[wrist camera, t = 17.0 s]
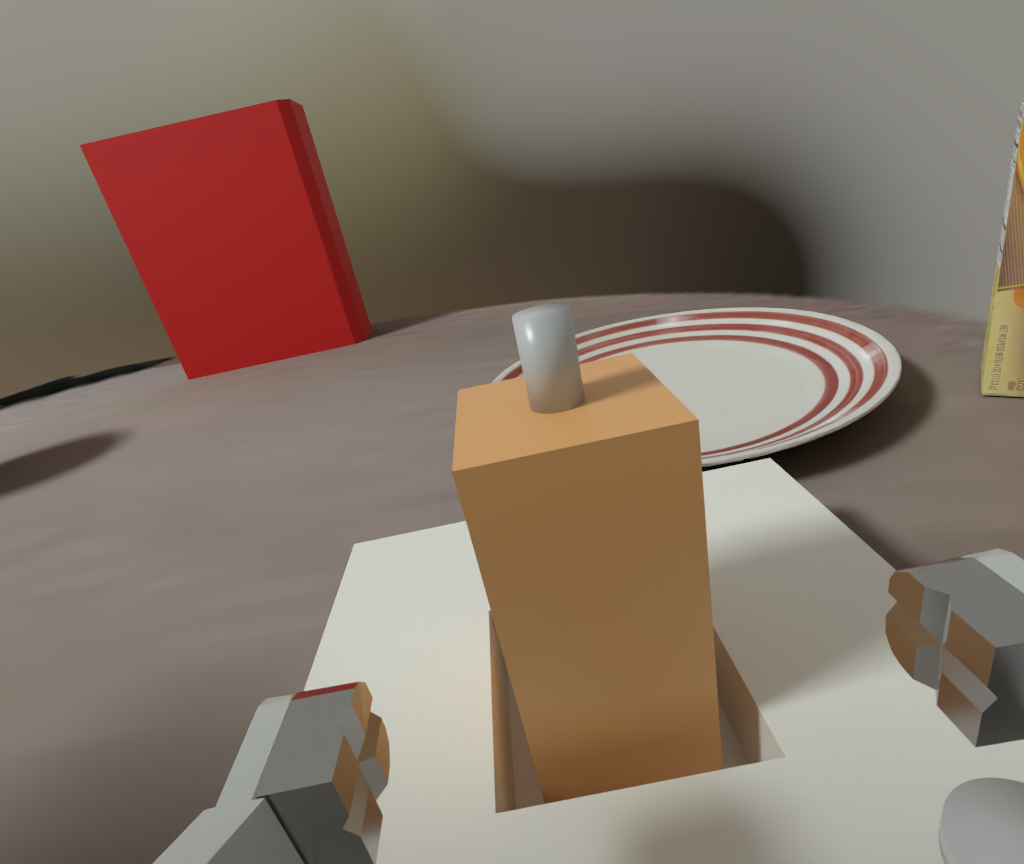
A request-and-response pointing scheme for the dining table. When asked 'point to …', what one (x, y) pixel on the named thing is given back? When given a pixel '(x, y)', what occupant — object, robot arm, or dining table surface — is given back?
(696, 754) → the block
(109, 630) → the dining table surface
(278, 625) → the dining table surface
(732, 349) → the dinner plate
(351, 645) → the housing
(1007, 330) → the candy box
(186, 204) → the book
